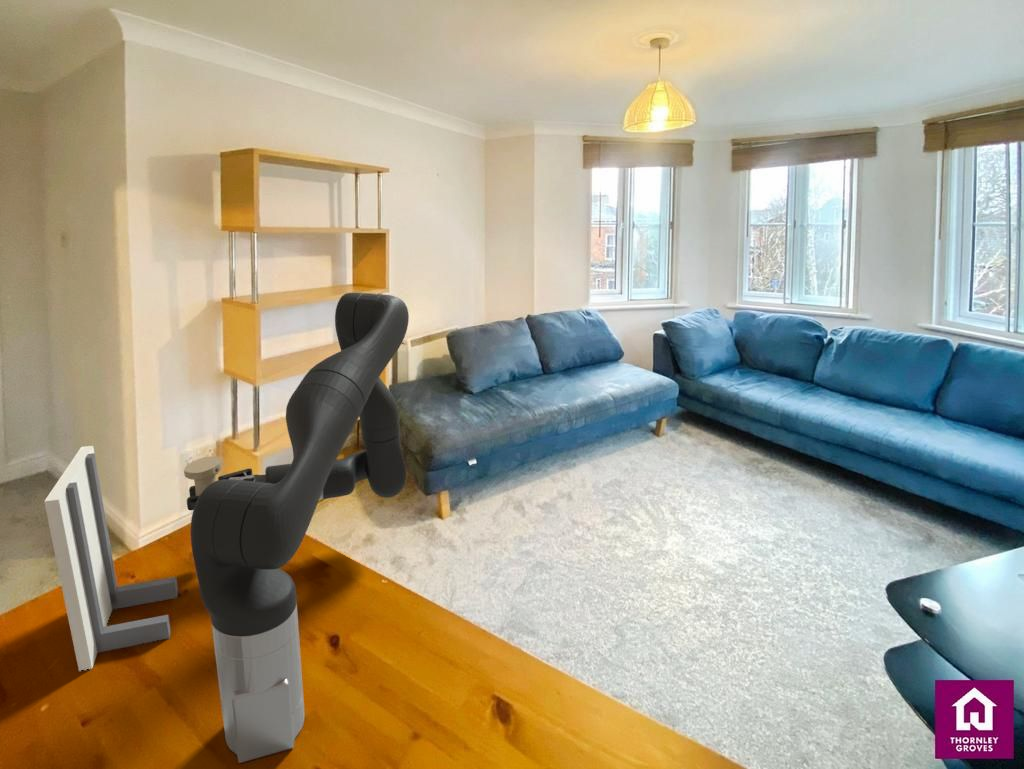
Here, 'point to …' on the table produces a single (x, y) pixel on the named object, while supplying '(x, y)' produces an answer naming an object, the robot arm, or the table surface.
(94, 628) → the rack
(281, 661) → the robot arm
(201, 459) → the handle
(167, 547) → the table surface
